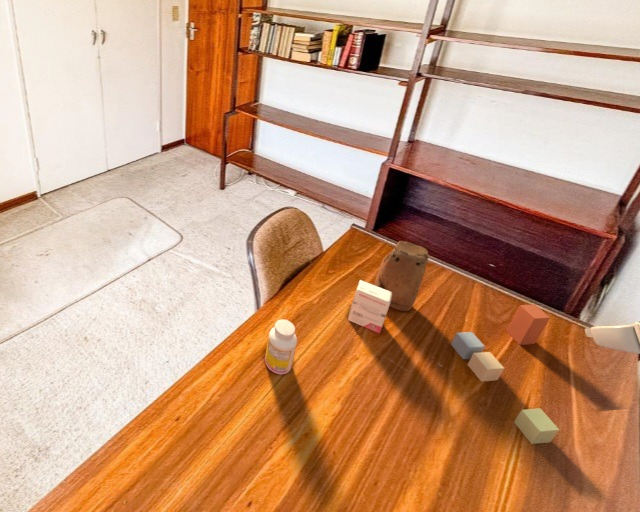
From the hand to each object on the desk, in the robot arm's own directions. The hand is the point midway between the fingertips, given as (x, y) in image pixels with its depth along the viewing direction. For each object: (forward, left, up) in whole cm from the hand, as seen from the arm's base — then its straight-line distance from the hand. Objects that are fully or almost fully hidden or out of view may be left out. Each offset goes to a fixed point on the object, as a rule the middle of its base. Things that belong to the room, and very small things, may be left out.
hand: (606, 331), depth 88 cm
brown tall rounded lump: (+29, -29, -19) cm, 45 cm away
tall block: (0, -14, -19) cm, 23 cm away
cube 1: (+19, +9, -19) cm, 28 cm away
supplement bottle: (+70, -11, -19) cm, 73 cm away
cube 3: (+19, -11, -19) cm, 29 cm away
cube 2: (+19, -5, -19) cm, 27 cm away
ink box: (+41, -22, -19) cm, 50 cm away
